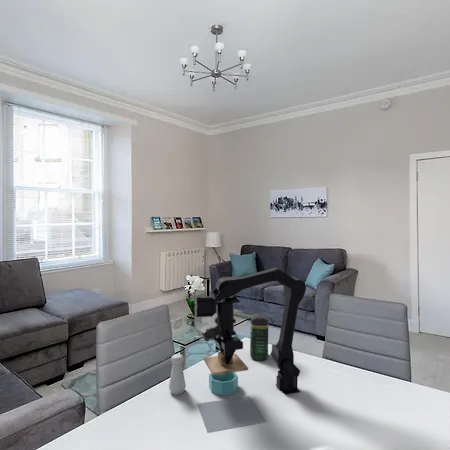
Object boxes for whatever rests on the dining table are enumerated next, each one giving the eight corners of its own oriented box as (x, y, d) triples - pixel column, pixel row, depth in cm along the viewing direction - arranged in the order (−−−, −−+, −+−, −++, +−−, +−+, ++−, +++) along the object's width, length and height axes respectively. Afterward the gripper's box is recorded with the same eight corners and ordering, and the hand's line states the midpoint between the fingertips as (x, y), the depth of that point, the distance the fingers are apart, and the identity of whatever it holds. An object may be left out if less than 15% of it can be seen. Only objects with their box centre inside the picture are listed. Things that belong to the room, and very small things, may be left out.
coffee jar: (269, 361, 139) (269, 318, 139) (250, 360, 139) (250, 317, 139) (267, 352, 149) (267, 311, 148) (249, 352, 149) (250, 311, 149)
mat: (249, 397, 110) (249, 395, 110) (267, 423, 96) (267, 421, 96) (196, 405, 105) (196, 403, 105) (207, 434, 91) (207, 432, 91)
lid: (235, 355, 118) (235, 345, 118) (248, 370, 107) (248, 358, 107) (203, 360, 115) (203, 349, 115) (212, 375, 103) (212, 363, 103)
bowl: (232, 381, 121) (232, 368, 121) (240, 394, 112) (240, 380, 112) (207, 385, 119) (207, 371, 119) (213, 398, 110) (213, 384, 110)
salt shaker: (182, 398, 110) (182, 359, 109) (166, 396, 111) (166, 358, 111) (187, 389, 115) (188, 353, 115) (172, 387, 116) (172, 351, 116)
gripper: (196, 310, 117) (196, 353, 117) (209, 326, 100) (209, 377, 100) (225, 307, 121) (225, 349, 121) (243, 322, 103) (243, 372, 103)
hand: (225, 361), depth 111 cm, fingers closed on lid, 4 cm apart
